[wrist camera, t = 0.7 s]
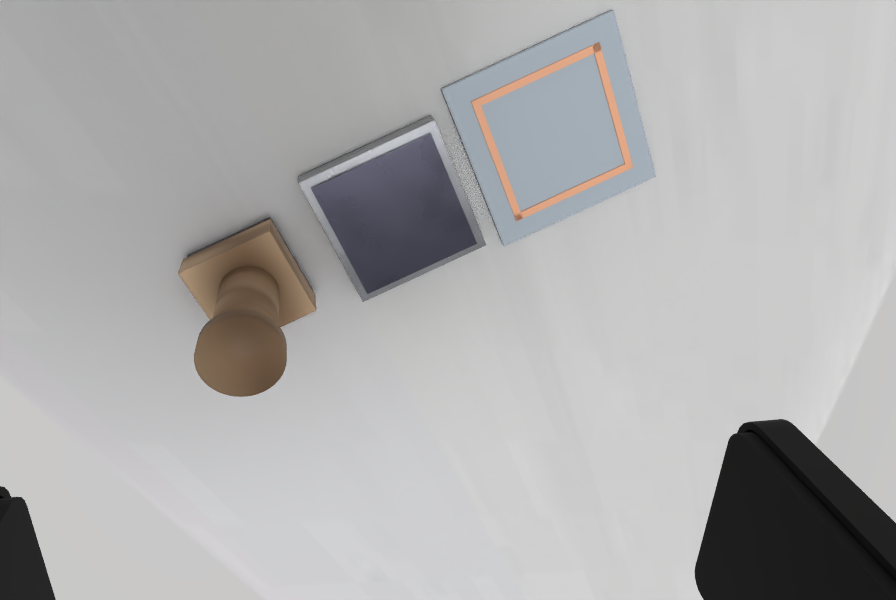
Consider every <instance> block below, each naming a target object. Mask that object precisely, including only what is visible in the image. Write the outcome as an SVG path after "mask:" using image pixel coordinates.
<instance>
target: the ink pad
mask: <svg viewBox="0 0 896 600" xmlns="http://www.w3.org/2000/svg"><path fill="white" fill-rule="evenodd" d="M298 181H299V185H300V187H301V189H302V191H303V192H304V194H305V196H306V198H307V200H308V202H309V203H310V205H311V207H312V209H313V211H314V213H315V215H316V216H317V218H318V220H319V222H320V224H321V226H322V227H323V229H324V231H325V233H326V235H327V237H328V238H329V240H330V242H331V244H332V246H333V248H334V249H335V251H336V253H337V255H338V257H339V259H340V261H341V262H342V264H343V266H344V268H345V270H346V272H347V273H348V275H349V277H350V279H351V281H352V283H353V284H354V286H355V288H356V290H357V292H358V294H359V295H360V297H361V299H362V301H363V302H364V301H366V300H368V299H370V298H372V297H375V296H377V295H379V294H381V293H383V292H385V291H388V290H390V289H392V288H394V287H396V286H398V285H401V284H403V283H405V282H407V281H409V280H411V279H414V278H416V277H418V276H420V275H422V274H424V273H427V272H429V271H431V270H433V269H435V268H437V267H440V266H442V265H444V264H446V263H448V262H450V261H453V260H455V259H457V258H459V257H461V256H463V255H466V254H468V253H470V252H472V251H474V250H476V249H479V248H481V247H483V246H485V245H486V243H485V241H484V239H483V236H482V234H481V231H480V229H479V226H478V224H477V222H476V219H475V217H474V214H473V212H472V209H471V207H470V205H469V202H468V200H467V197H466V195H465V193H464V190H463V188H462V185H461V183H460V180H459V178H458V176H457V173H456V171H455V168H454V166H453V163H452V161H451V159H450V156H449V154H448V151H447V149H446V146H445V144H444V142H443V139H442V137H441V134H440V132H439V129H438V127H437V125H436V122H435V120H434V119H433V118H432V116H431V115H430V116H428V117H426V118H423V119H421V120H419V121H417V122H415V123H413V124H410V125H408V126H406V127H404V128H402V129H400V130H398V131H395V132H393V133H391V134H389V135H387V136H385V137H382V138H380V139H378V140H376V141H374V142H372V143H369V144H367V145H365V146H363V147H361V148H359V149H357V150H354V151H352V152H350V153H348V154H346V155H344V156H341V157H339V158H337V159H335V160H333V161H331V162H329V163H326V164H324V165H322V166H320V167H318V168H316V169H313V170H311V171H309V172H307V173H305V174H303V175H300V176H298Z"/></svg>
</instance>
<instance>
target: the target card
mask: <svg viewBox="0 0 896 600" xmlns="http://www.w3.org/2000/svg"><path fill="white" fill-rule="evenodd" d="M441 90H442V93H443V95H444V98H445V100H446V103H447V105H448V108H449V110H450V113H451V115H452V118H453V120H454V123H455V125H456V128H457V131H458V133H459V136H460V138H461V141H462V143H463V146H464V148H465V151H466V153H467V156H468V158H469V161H470V163H471V166H472V168H473V171H474V173H475V176H476V178H477V181H478V183H479V186H480V188H481V191H482V193H483V196H484V198H485V201H486V203H487V206H488V208H489V211H490V213H491V216H492V218H493V221H494V223H495V226H496V229H497V231H498V234H499V236H500V239H501V241H502V244H503V245H504V246H506V245H508V244H510V243H513V242H515V241H517V240H519V239H521V238H523V237H526V236H528V235H530V234H532V233H534V232H536V231H539V230H541V229H543V228H545V227H547V226H549V225H552V224H554V223H556V222H558V221H560V220H562V219H565V218H567V217H569V216H571V215H573V214H575V213H578V212H580V211H582V210H584V209H586V208H588V207H591V206H593V205H595V204H597V203H599V202H601V201H604V200H606V199H608V198H610V197H612V196H614V195H617V194H619V193H621V192H623V191H625V190H627V189H630V188H632V187H634V186H636V185H638V184H640V183H643V182H645V181H647V180H649V179H651V178H653V177H656V175H655V171H654V167H653V163H652V159H651V155H650V151H649V148H648V144H647V140H646V136H645V132H644V128H643V124H642V120H641V116H640V112H639V108H638V104H637V100H636V96H635V92H634V88H633V84H632V80H631V76H630V72H629V69H628V65H627V61H626V57H625V53H624V49H623V45H622V41H621V37H620V33H619V29H618V25H617V21H616V17H615V13H614V10H610V11H607V12H605V13H603V14H601V15H599V16H597V17H594V18H592V19H590V20H588V21H586V22H584V23H581V24H579V25H577V26H575V27H573V28H571V29H569V30H566V31H564V32H562V33H560V34H558V35H556V36H553V37H551V38H549V39H547V40H545V41H543V42H541V43H538V44H536V45H534V46H532V47H530V48H528V49H525V50H523V51H521V52H519V53H517V54H515V55H513V56H510V57H508V58H506V59H504V60H502V61H500V62H497V63H495V64H493V65H491V66H489V67H487V68H484V69H482V70H480V71H478V72H476V73H474V74H472V75H469V76H467V77H465V78H463V79H461V80H459V81H456V82H454V83H452V84H450V85H448V86H446V87H444V88H441Z"/></svg>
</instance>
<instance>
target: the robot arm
mask: <svg viewBox="0 0 896 600" xmlns="http://www.w3.org/2000/svg"><path fill="white" fill-rule="evenodd" d="M695 579H696V584H697V587H698V590H699V592H700V594H701V596H702V598H703V599H704V600H896V523H895V522H894V521H893V520H892V519H891V518H890V517H889V516H888V515H887V514H886V513H885V512H884V511H883V510H881V508H879V507H878V506H877V505H876V504H875V503H874V502H873V501H872V500H871V499H870V498H869V497H868V496H867V495H866V494H865V493H864V492H863V491H862V490H861V489H860V488H859V487H858V486H856V485H855V483H853V481H851V480H850V479H849V478H848V477H847V476H846V475H845V474H844V473H843V472H842V471H841V470H840V469H839V468H838V467H837V466H836V465H835V464H834V463H833V462H832V461H830V459H829V458H828V457H827V456H825V455H824V454H823V453H822V452H821V451H820V450H819V449H818V448H817V447H816V446H815V445H814V444H813V443H812V442H811V441H810V440H809V439H808V438H807V437H806V436H805V435H804V434H803V433H802V432H801V431H800V430H799V429H797V428H796V427H795V426H794V425H793V424H792V423H790V422H789V421H787V420H783V419H779V420H767V421H755V422H747V423H744V424H743V425H742V426H741V427H740V428H739V430H738V432H737V433H736V434H733V435H732V436H731V437H730V439H729V441H728V445H727V449H726V452H725V456H724V460H723V464H722V468H721V471H720V475H719V479H718V483H717V487H716V490H715V494H714V498H713V502H712V505H711V509H710V513H709V517H708V521H707V524H706V528H705V532H704V536H703V540H702V543H701V547H700V551H699V555H698V559H697V562H696V566H695ZM0 600H55V596H54V593H53V590H52V586H51V583H50V580H49V577H48V574H47V570H46V567H45V563H44V560H43V557H42V554H41V550H40V547H39V544H38V541H37V537H36V534H35V531H34V527H33V524H32V521H31V518H30V514H29V511H28V508H27V505H26V503H25V500H24V499H23V498H22V497H11V496H10V494H9V491H8V490H7V489H5V487H1V486H0Z"/></svg>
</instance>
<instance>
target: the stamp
mask: <svg viewBox="0 0 896 600" xmlns="http://www.w3.org/2000/svg"><path fill="white" fill-rule="evenodd" d="M178 274H179V276H180V277H181V279H182V280H183V281H184V283H185V284H186V286H187V287H188V289H189V290H190V292H191V293H192V294H193V296H194V297H195V299H196V300H197V302H198V303H199V305H200V306H201V307H202V309H203V310H204V312H205V313H206V315H207V316H208V318H209V319H210V321H209V322H208V323H207V324H206V325H205V326H204V327H203V329H202V330H201V332H200V334H199V337H198V341H197V345H196V349H195V353H194V363H195V367H196V370H197V372H198V374H199V376H200V377H201V379H202V380H203V381H204V382H205V383H206V384H207V385H208V386H209V387H211V388H212V389H214V390H216V391H218V392H220V393H223V394H226V395H230V396H239V397H243V396H252V395H256V394H259V393H261V392H264V391H266V390H267V389H269V388H270V387H272V386H273V385H274V384H275V383H276V382H277V381H278V380H279V379H280V377H281V376H282V374H283V372H284V370H285V366H286V358H287V344H286V339H285V336H284V334H283V332H282V330H281V328H280V327H282V326H284V325H286V324H288V323H290V322H293V321H295V320H297V319H299V318H301V317H303V316H306V315H308V314H310V313H312V312H314V311H316V299H315V294H314V293H313V290H312V289H311V287H310V285H309V283H308V282H307V280H306V278H305V277H304V275H303V273H302V271H301V270H300V268H299V266H298V265H297V263H296V261H295V259H294V258H293V256H292V254H291V253H290V251H289V249H288V247H287V246H286V244H285V242H284V241H283V239H282V237H281V235H280V234H279V232H278V230H277V229H276V227H275V225H274V223H273V222H272V220H271V218H268V219H266V220H264V221H262V222H259V223H257V224H255V225H253V226H251V227H249V228H246V229H244V230H242V231H240V232H238V233H236V234H233V235H231V236H229V237H227V238H225V239H223V240H221V241H218V242H216V243H214V244H212V245H210V246H208V247H205V248H203V249H201V250H199V251H197V252H195V253H192V254H190V255H188V256H187V258H185V259H183V261H182V264H181V267H180V270H179V273H178Z"/></svg>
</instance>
